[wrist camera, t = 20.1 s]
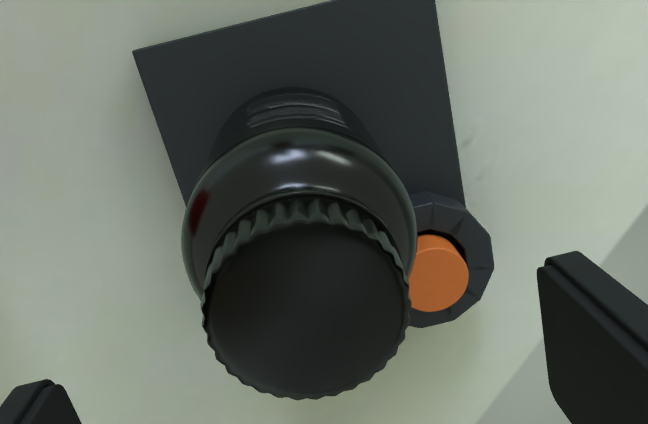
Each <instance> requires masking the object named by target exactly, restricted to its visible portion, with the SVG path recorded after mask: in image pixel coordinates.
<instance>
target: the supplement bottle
mask: <svg viewBox="0 0 648 424" xmlns="http://www.w3.org/2000/svg"><path fill="white" fill-rule="evenodd" d="M417 240H418V233H417V222H416V216H415V212H414V208H413V205H412V202H411V200H410V197H409V195H408V193H407V190H406V189H405V187H404V185H403V183H402V181H401V180H400V178H399V177H398V175H397V174H396V172H395V171H394V169H393V167H392V166H391V164H390V163H389V161H388V160H387V158H386V157H385V155H384V154H383V152H382V151H381V150H380V148H379V147H378V145H377V144H376V142H375V141H374V139H373V138H372V136H371V135H370V133H369V132H368V131H367V129H366V128H365V126H364V125H363V123H362V122H361V121H360V120H359V118H358V117H357V116H356V115H355V114H354V113H353V112H352V111H351V110H350V109H349V108H348V107H347V106H346V105H344V104H343V103H342V102H340V101H339V100H337V99H336V98H334V97H332V96H330V95H328V94H326V93H323V92H321V91H318V90H314V89H310V88H304V87H283V88H277V89H273V90H269V91H266V92H263V93H261V94H258V95H256V96H254V97H253V98H251V99H249V100H247V101H246V102H245V103H243V104H242V105H241V106H240V107H239V108H237V109H236V110H235V111H234V112H233V113H232V114H231V116H230V117H229V118H228V119H227V121H226V122H225V123H224V125H223V126H222V128H221V130H220V132H219V134H218V135H217V137H216V140H215V142H214V144H213V146H212V149H211V151H210V153H209V155H208V158H207V160H206V162H205V164H204V167H203V169H202V171H201V173H200V176H199V178H198V180H197V182H196V185H195V187H194V189H193V192H192V194H191V196H190V199H189V201H188V205H187V208H186V211H185V215H184V220H183V225H182V235H181V247H182V255H183V261H184V265H185V269H186V273H187V275H188V278H189V281H190V283H191V285H192V287H193V289H194V291H195V292H196V294H197V296H198V297H199V299H200V300H201V310H202V313H203V319H202V327H203V328H204V330H205V332H206V333H207V343H208V345H209V346H210V347H211V348H212V349H213V350H214V351H215V356H216V359H217V360H218V361H219V362H220V363H222V364H224V365H225V367H226V370H227V372H228V373H229V374H231V375H233V376H236V377H238V379H239V380H240V381H241V383H242V384H244V385H247V386H252V387H254V388H255V389H256V390H257V391H259V392H261V393H270V394H272V395H274V396H276V397H278V398H283V397H289V398H292V399H295V400H301V399H305V398H309V399H319V398H321V397H324V396H336V395H338V394H339V393H341V392H343V391H347V390H353V389H354V388H355V387H357V385H359V384H360V383H362V382H366V381H368V380H370V379H371V378H372V377H373V375H374V374H375V373H376V372H378V371H380V370H382V369H384V368H385V366H386V363H387V361H388V360H389V359H391V358H392V357H393V356H395V355H396V353H397V349H398V346H399V345H400V344H401V343H402V341H403V340H404V339H405V329H406V328H407V327H408V325H409V323H410V316H409V311H410V308H411V305H412V300H411V298H410V295H409V287H410V286H409V281H408V280H409V277H410V274H411V272H412V269H413V266H414V262H415V258H416V252H417Z"/></svg>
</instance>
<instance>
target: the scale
mask: <svg viewBox="0 0 648 424" xmlns="http://www.w3.org/2000/svg"><path fill="white" fill-rule="evenodd" d="M132 53H133V56H134V59H135V62H136V65H137V67H138V70H139V73H140V76H141V79H142V82H143V85H144V87H145V90H146V93H147V96H148V99H149V102H150V105H151V107H152V110H153V113H154V116H155V119H156V122H157V125H158V127H159V130H160V133H161V136H162V139H163V142H164V145H165V148H166V150H167V153H168V156H169V159H170V162H171V165H172V168H173V170H174V173H175V176H176V179H177V182H178V185H179V188H180V190H181V193H182V196H183V199H184V202H185V205H186V208H187V205H188V201H189V199H190V196H191V194H192V192H193V189H194V187H195V185H196V182H197V180H198V178H199V176H200V173H201V171H202V169H203V167H204V164H205V162H206V160H207V158H208V155H209V153H210V151H211V149H212V146H213V144H214V142H215V140H216V137H217V135H218V134H219V132H220V130H221V128H222V126H223V125H224V123H225V122H226V121H227V119H228V118H229V117H230V116H231V114H232V113H233V112H234V111H235V110H236V109H237V108H239V107H240V106H241V105H242V104H243V103H245V102H246V101H247V100H249V99H251V98H253V97H254V96H256V95H258V94H261V93H263V92H266V91H269V90H273V89H277V88H283V87H304V88H310V89H314V90H318V91H321V92H323V93H326V94H328V95H330V96H332V97H334V98H336V99H337V100H339V101H340V102H342V103H343V104H344V105H346V106H347V107H348V108H349V109H350V110H351V111H352V112H353V113H354V114H355V115H356V116H357V117H358V118H359V120H360V121H361V122H362V123H363V125H364V126H365V128H366V129H367V131H368V132H369V133H370V135H371V136H372V138H373V139H374V141H375V142H376V144H377V145H378V147H379V148H380V150H381V151H382V152H383V154H384V155H385V157H386V158H387V160H388V161H389V163H390V164H391V166H392V167H393V169H394V171H395V172H396V174H397V175H398V177H399V178H400V180H401V181H402V183H403V185H404V187H405V189H406V190H407V193H408V195H409V197H410V200H411V202H412V205H413V208H414V212H415V216H416V222H417V233H418V235H422V234H434V235H438V236H441V237H443V238H445V239H447V240H448V241H449V242H450V243H452V245H453V246H454V247H455V249H456V250H457V251H458V253H459V254H460V256H461V257H462V258H463V260H464V261H465V263H466V265H467V268H468V273H469V279H468V284H467V287H466V290H465V292H464V293H463V295H462V296H461V297H460V299H459V300H458V301H457V302H456V303H454V304H453V305H451V306H450V307H448V308H446V309H443V310H440V311H435V312H425V311H420V310H417V309H415V308H412V307H411V308H410V311H409V316H410V323H409V325H408V326H412V327H417V328H424V327H428V326H432V325H437V324H441V323H445V322H449V321H453V320H455V319H456V318H458V317H459V316H460V315H461V314H463V313H464V312H465V311H466V310H468V309H469V308H470V307H471V306H473V305H474V304H475V303H476V302H477V301H479V300H480V299H481V297H482V295H483V292H484V290H485V288H486V286H487V283H488V281H489V279H490V277H491V274H492V272H493V270H494V261H493V253H492V246H491V238H490V236H489V234H488V232H487V231H486V230H485V229H484V228H483V227H482V226H481V225H480V224H479V223H478V221H477V220H476V219H475V218H474V217H473V216H472V215H471V214H470V213H469V211H468V210H467V209H466V206H465V199H464V193H463V186H462V179H461V172H460V166H459V159H458V152H457V146H456V139H455V132H454V125H453V119H452V112H451V105H450V99H449V92H448V85H447V78H446V72H445V65H444V58H443V52H442V45H441V38H440V32H439V25H438V18H437V11H436V5H435V0H331V1H328V2H324V3H320V4H316V5H312V6H308V7H304V8H300V9H296V10H292V11H288V12H284V13H280V14H276V15H272V16H268V17H264V18H260V19H256V20H252V21H248V22H244V23H240V24H236V25H232V26H228V27H224V28H220V29H216V30H212V31H208V32H204V33H200V34H196V35H192V36H188V37H184V38H181V39H177V40H173V41H169V42H165V43H161V44H157V45H153V46H149V47H145V48H141V49H137V50H134V51H132Z"/></svg>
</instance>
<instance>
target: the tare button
mask: <svg viewBox="0 0 648 424" xmlns="http://www.w3.org/2000/svg"><path fill="white" fill-rule="evenodd" d="M468 279H469V273H468V268H467V265H466V263H465V261H464V260H463V258H462V257H461V256H460V254H459V253H458V251H457V250H456V249H455V247H454V246H453V245H452V243H450V242H449V241H448V240H447V239H445V238H443V237H441V236H438V235H434V234H422V235H418V240H417V252H416V258H415V262H414V266H413V269H412V272H411V274H410V277H409V280H408V281H409V286H410V287H409V295H410V298H411V300H412V305H411V307H412V308H415V309H417V310H420V311H425V312H435V311H440V310H443V309H446V308H448V307H450V306H451V305H453V304H454V303H456V302H457V301H458V300H459V299H460V297H461V296H462V295H463V293H464V292H465V290H466V287H467V284H468Z"/></svg>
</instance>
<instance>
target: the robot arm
mask: <svg viewBox="0 0 648 424" xmlns="http://www.w3.org/2000/svg"><path fill="white" fill-rule="evenodd" d="M537 281H538V290H539V299H540V308H541V317H542V326H543V334H544V343H545V352H546V361H547V370H548V379H549V385H550V389H551V392H552V394H553V397H554V399H555V401H556V402H557V404H558V405H559V407H560V408H561V409H562V411H563V412H564V414H565V415H566V416H567V418H568V419H569V421H570V422H571V423H572V424H648V305H647V304H646V303H644V302H643V301H642V300H641V299H639V298H638V297H637V296H635V295H634V294H633V293H632V292H630V291H629V290H628V289H626V288H625V287H624V286H622V285H621V284H620V283H619V282H618V281H616V280H615V279H614V278H612V277H611V276H610V275H609V274H607V273H606V272H605V271H603V270H602V269H601V268H600V267H598V266H597V265H596V264H595V263H593V262H592V261H591V260H589V259H588V258H587V257H586V256H584V255H583V254H582V253H580V252H578V251H573V252H569V253H565V254H561V255H557V256H553V257H548V258H546V260H545V263H544V267H539V268H538V269H537ZM0 424H82V423H81V421H80V419H79V417H78V415H77V413H76V411H75V409H74V407H73V405H72V403H71V401H70V399H69V397H68V394H67V392H66V390H65V389H64V387H63V386H61V385H59V384H57V385H55V383H54V382H52V381H51V380H48V379H45V380H41V381H37V382H33V383H29V384H25V385H21V386H17V387H15V388H14V389H13V390H12V392H11V393H10V394H9V396H8V397H7V398H6V400H5V401H4V402H3V404H2V405H1V406H0Z"/></svg>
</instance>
